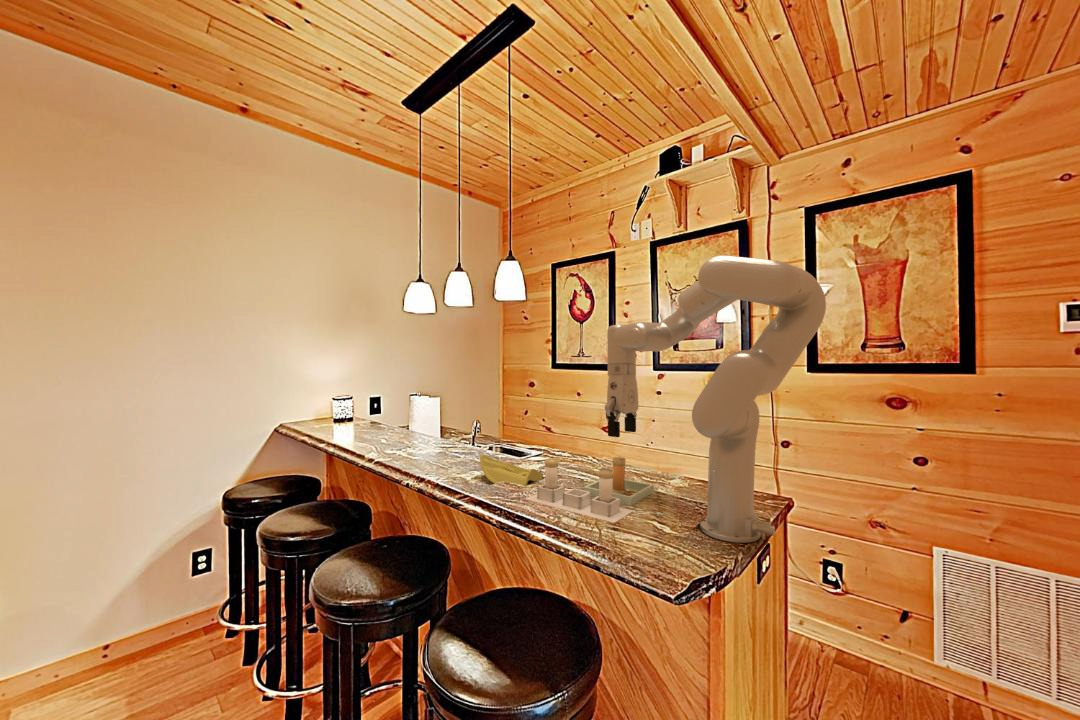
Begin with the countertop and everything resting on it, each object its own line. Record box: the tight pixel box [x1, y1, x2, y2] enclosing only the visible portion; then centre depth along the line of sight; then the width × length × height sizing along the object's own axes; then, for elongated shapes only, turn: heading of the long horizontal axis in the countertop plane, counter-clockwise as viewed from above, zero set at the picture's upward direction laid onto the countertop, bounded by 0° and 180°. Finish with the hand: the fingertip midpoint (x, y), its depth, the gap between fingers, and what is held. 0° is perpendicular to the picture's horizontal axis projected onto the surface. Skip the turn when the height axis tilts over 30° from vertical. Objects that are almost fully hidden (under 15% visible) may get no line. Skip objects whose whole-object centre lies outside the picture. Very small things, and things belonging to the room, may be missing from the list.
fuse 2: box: [598, 468, 613, 503], centre depth 111 cm, size 3×3×10 cm
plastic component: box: [479, 454, 545, 487], centre depth 140 cm, size 20×7×10 cm
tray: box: [582, 478, 655, 507], centre depth 126 cm, size 14×14×4 cm
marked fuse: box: [612, 456, 626, 495], centre depth 126 cm, size 3×3×10 cm
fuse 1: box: [544, 457, 559, 490], centre depth 121 cm, size 3×3×10 cm
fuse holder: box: [524, 483, 634, 524], centre depth 116 cm, size 10×26×4 cm, turn 53°
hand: (622, 434), depth 125 cm, fingers open, 9 cm apart
